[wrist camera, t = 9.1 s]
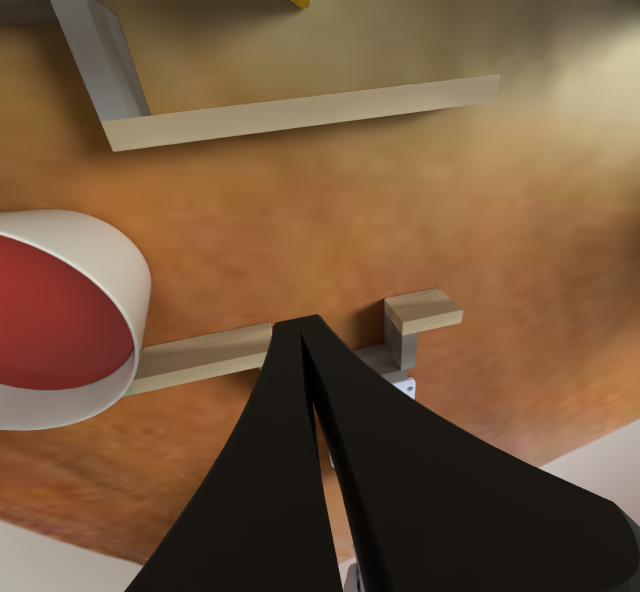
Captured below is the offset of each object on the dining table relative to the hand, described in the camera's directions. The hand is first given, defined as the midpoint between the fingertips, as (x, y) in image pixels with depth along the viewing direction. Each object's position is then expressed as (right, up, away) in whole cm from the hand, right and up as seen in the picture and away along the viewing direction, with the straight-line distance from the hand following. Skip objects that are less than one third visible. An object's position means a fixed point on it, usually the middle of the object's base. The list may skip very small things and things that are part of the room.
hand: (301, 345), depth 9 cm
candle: (-12, +3, +7) cm, 15 cm away
